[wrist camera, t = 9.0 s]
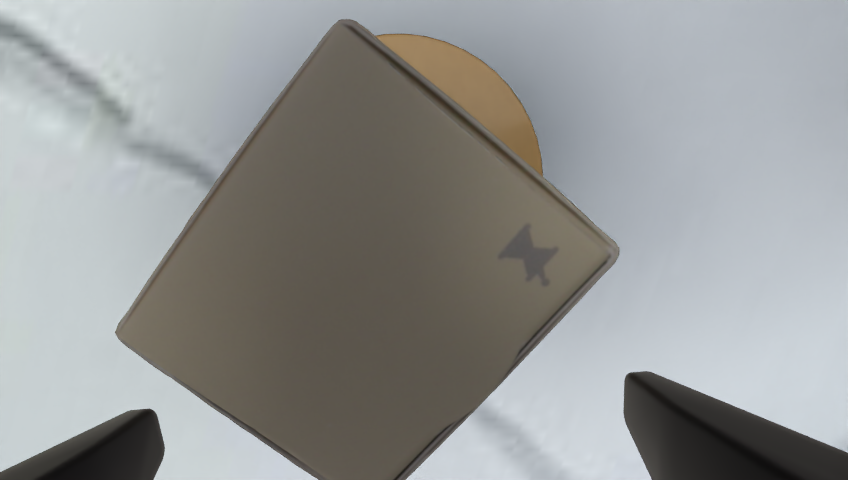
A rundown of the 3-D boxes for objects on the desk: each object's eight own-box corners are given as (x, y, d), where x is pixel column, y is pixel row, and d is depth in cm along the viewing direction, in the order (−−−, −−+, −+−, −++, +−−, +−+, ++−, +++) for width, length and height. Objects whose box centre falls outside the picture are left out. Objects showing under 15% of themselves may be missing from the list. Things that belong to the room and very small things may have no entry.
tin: (512, 46, 19) (539, 19, 15) (520, 274, 21) (546, 309, 17) (274, 67, 19) (231, 47, 15) (309, 292, 22) (280, 332, 17)
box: (402, 87, 15) (358, -28, 4) (495, 168, 16) (655, 242, 5) (311, 204, 16) (88, 346, 5) (402, 276, 17) (370, 532, 6)
